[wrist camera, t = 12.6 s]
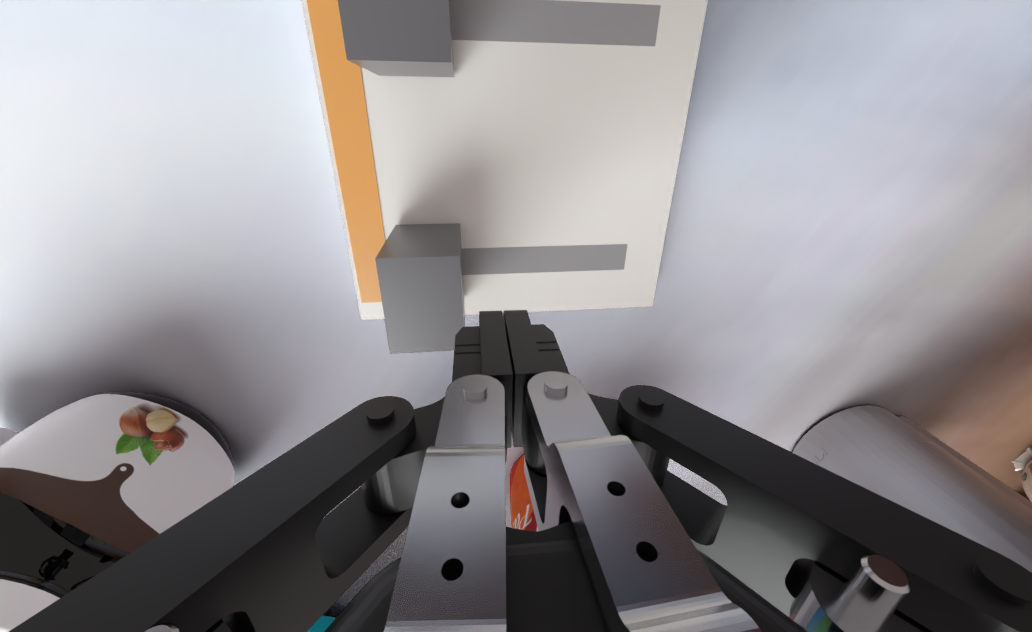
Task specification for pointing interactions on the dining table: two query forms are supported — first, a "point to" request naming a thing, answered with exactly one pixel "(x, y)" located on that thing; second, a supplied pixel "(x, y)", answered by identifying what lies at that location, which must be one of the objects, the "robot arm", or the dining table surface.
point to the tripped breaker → (422, 287)
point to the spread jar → (98, 490)
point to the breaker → (399, 36)
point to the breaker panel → (519, 147)
